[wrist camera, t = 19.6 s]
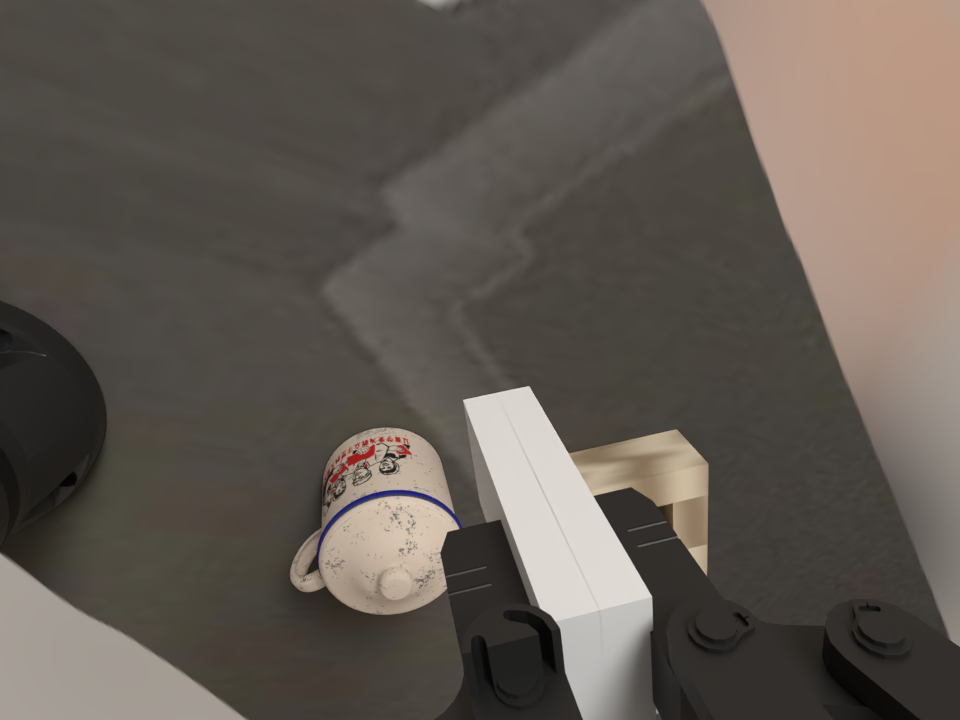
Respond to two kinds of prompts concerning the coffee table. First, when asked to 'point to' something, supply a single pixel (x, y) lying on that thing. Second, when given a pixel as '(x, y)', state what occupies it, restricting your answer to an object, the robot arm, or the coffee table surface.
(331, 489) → the teacup with lid
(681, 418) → the coffee table surface
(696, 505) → the block
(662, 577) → the robot arm
